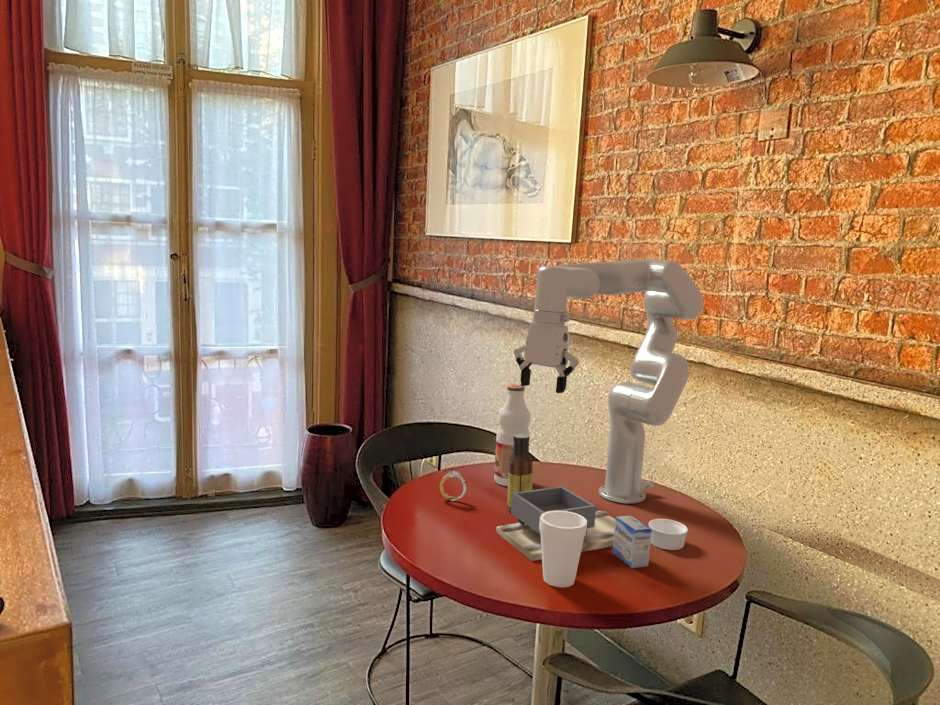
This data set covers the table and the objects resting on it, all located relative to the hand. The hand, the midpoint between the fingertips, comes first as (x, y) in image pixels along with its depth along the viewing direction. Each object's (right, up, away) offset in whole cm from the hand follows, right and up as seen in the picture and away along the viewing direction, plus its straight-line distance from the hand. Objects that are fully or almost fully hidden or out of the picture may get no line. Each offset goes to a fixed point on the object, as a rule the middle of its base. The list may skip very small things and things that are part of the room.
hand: (542, 389), depth 171 cm
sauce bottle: (-5, -32, +10) cm, 34 cm away
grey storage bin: (+1, -32, -7) cm, 33 cm away
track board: (+6, -34, -5) cm, 35 cm away
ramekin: (+28, -36, -6) cm, 46 cm away
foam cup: (+1, -38, -26) cm, 46 cm away
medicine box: (+18, -37, -15) cm, 44 cm away
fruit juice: (-6, -28, +31) cm, 43 cm away
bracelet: (-22, -30, +14) cm, 40 cm away
